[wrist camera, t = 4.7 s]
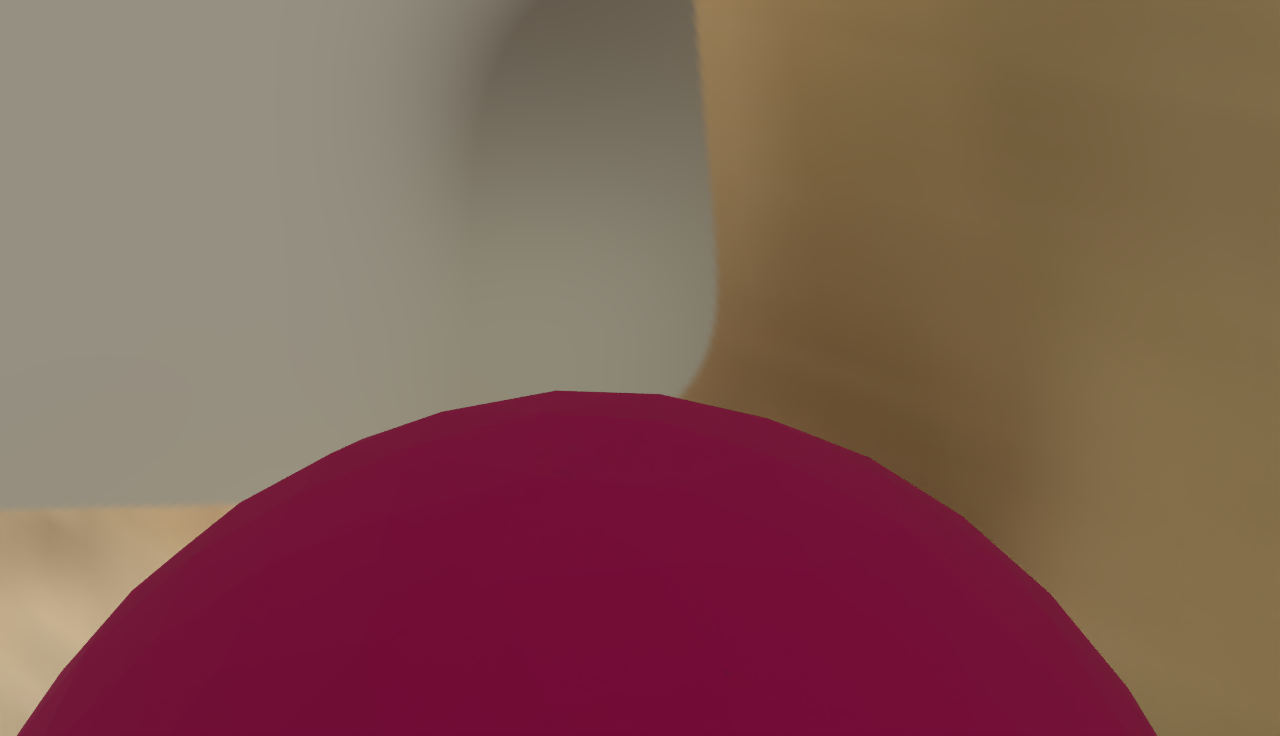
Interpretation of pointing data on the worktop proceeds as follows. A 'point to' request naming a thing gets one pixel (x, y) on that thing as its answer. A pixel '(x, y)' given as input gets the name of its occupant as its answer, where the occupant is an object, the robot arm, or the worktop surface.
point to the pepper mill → (590, 596)
